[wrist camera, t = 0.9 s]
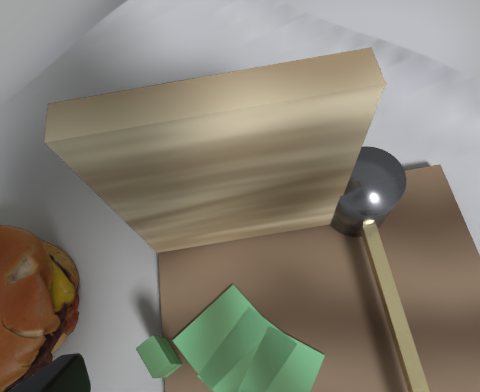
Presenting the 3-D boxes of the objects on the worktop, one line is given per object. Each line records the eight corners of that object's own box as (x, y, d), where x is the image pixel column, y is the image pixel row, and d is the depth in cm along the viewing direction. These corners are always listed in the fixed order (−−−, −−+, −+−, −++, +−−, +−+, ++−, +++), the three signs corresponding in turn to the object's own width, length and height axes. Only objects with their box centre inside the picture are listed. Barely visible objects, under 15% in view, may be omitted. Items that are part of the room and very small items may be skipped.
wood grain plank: (459, 426, 17) (761, 520, 7) (167, 471, 18) (-5, 632, 7) (374, 177, 23) (462, 6, 12) (155, 213, 23) (50, 79, 13)
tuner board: (574, 499, 17) (638, 527, 14) (164, 560, 17) (140, 600, 14) (435, 170, 24) (458, 142, 21) (150, 218, 24) (132, 197, 21)
